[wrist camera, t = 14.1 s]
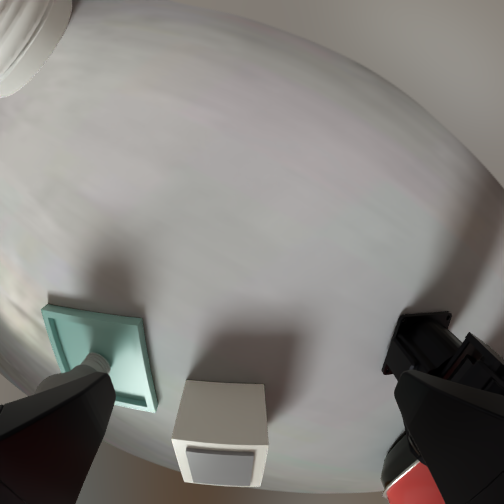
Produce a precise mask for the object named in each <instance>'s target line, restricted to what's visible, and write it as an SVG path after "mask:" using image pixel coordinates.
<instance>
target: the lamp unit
mask: <svg viewBox="0 0 504 504" xmlns="http://www.w3.org/2000/svg"><path fill="white" fill-rule="evenodd" d="M171 439H172V443H173V447H174V450H175V454H176V457H177V460H178V464H179V467H180V470H181V473H182V476H183V479H184V482H190V483H198V484H208V485H220V486H221V485H222V486H241V487H261V482H262V477H263V472H264V467H265V462H266V457H267V452H268V447H269V442H268V429H267V416H266V403H265V390H264V384H238V383H219V382H206V381H194V380H186V382H185V386H184V390H183V394H182V398H181V402H180V406H179V410H178V414H177V418H176V422H175V426H174V430H173V434H172V438H171Z"/></svg>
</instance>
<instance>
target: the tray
mask: <svg viewBox="0 0 504 504" xmlns="http://www.w3.org/2000/svg"><path fill="white" fill-rule="evenodd" d="M41 312H42V315H43V319H44V323H45V326H46V330H47V333H48V336H49V339H50V342H51V345H52V348H53V351H54V354H55V357H56V360H57V362H58V365H59V368H60V370H61V373H65V372H68V371H71V370H72V369H73V368H74V367H75V366H77V365H80V364H81V363H82V362H83V361H84V359H85V358H86V356H87V355H88V354H89V353H92V352H93V353H97V354H100V355H101V356H103V357H104V358H105V359H106V360H107V361H108V363H109V365H110V368H111V370H110V373H109V375H110V378H111V381H112V384H113V386H114V389H115V392H116V400H115V403H114V405H118V406H122V407H127V408H132V409H137V410H142V411H147V412H153V413H156V410H157V407H158V402H157V398H156V393H155V389H154V384H153V379H152V374H151V369H150V364H149V359H148V353H147V347H146V341H145V335H144V328H143V321H142V318H134V317H126V316H118V315H111V314H104V313H97V312H90V311H84V310H78V309H72V308H66V307H61V306H55V305H50V304H47V305H46V306H45V307H43V308H42V309H41Z"/></svg>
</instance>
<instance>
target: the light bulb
mask: <svg viewBox="0 0 504 504" xmlns="http://www.w3.org/2000/svg"><path fill="white" fill-rule="evenodd" d="M110 370H111V368H110V365H109V363H108V361H107V360H106V359H105V358H104V357H103V356H101V355H100V354H97V353H93V352H92V353H89V354H88V355H87V356H86V358H85V359H84V361H83V362H82V363H81V364H80V365H77V366H75V367H74V368H73V369H72V370H71V371H68V372H65V373H59V374H54V375H51V376H49V377H47V378H46V379H44V380H43V381H42V382H41V383H40V384H39V386H38V387H37V390H36V392H35V394H37V393H39V392H42V391H45V390H48V389H51V388H54V387H56V386H59V385H62V384H64V383H67V382H70V381H73V380H75V379H78V378H80V377H83V376H86V375H88V374H91V373H93V372H96V371H99V372H104V373H108V374H109V373H110Z"/></svg>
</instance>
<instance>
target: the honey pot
mask: <svg viewBox="0 0 504 504" xmlns="http://www.w3.org/2000/svg"><path fill="white" fill-rule="evenodd" d="M71 12H72V0H0V98H2V97H8V96H10V95H12V94H14V93H15V92H17V91H19V90H20V89H21V88H22V87H23V86H24V85H26V84H27V83H28V82H29V81H30V80H31V79H32V78H33V77H34V76H35V75H36V73H37V72H38V71H39V70H40V69H41V68H42V66H43V65H44V64H45V62H46V61H47V60H48V58H49V57H50V56H51V54H52V53H53V51H54V49H55V48H56V46H57V44H58V43H59V41H60V40H61V38H62V36H63V34H64V31H65V29H66V27H67V25H68V23H69V19H70V16H71Z"/></svg>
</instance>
